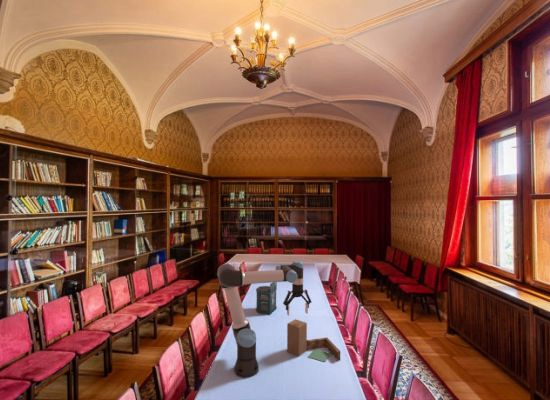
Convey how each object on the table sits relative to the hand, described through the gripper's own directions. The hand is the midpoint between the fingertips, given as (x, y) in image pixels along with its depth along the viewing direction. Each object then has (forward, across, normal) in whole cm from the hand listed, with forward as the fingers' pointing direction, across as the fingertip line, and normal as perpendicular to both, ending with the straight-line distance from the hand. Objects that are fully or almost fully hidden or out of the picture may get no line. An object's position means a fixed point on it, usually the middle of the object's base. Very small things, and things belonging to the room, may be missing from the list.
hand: (297, 313), depth 209 cm
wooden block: (+27, 0, 0) cm, 27 cm away
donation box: (+27, -3, +78) cm, 82 cm away
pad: (+26, +13, -9) cm, 31 cm away
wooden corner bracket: (+26, +16, -8) cm, 32 cm away
